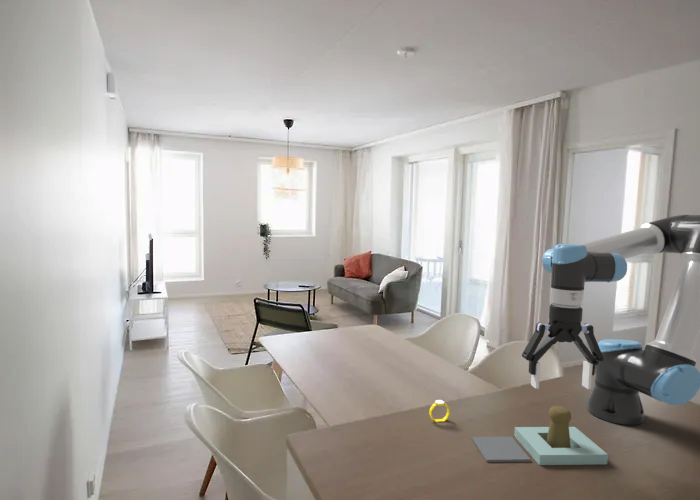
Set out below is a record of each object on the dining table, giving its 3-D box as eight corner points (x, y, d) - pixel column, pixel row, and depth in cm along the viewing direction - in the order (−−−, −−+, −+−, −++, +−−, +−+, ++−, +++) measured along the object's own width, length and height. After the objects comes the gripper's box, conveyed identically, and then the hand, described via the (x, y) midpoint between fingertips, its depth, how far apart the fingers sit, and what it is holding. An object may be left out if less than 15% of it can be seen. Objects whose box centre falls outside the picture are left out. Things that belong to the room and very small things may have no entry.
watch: (432, 425, 124) (431, 405, 123) (428, 420, 127) (427, 401, 126) (451, 422, 125) (450, 402, 125) (447, 417, 128) (446, 398, 127)
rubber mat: (511, 438, 116) (511, 436, 116) (530, 461, 105) (530, 459, 105) (471, 439, 116) (471, 436, 116) (486, 462, 105) (486, 459, 105)
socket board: (574, 435, 119) (574, 426, 119) (607, 464, 105) (607, 454, 105) (514, 435, 118) (514, 427, 118) (539, 465, 104) (539, 455, 104)
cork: (574, 457, 108) (576, 414, 107) (548, 454, 109) (550, 412, 108) (567, 444, 114) (569, 404, 113) (542, 442, 115) (544, 402, 114)
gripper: (524, 307, 104) (519, 392, 106) (623, 309, 106) (617, 393, 107) (511, 301, 112) (506, 381, 113) (604, 303, 113) (598, 382, 114)
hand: (560, 387), depth 110 cm, fingers open, 13 cm apart
